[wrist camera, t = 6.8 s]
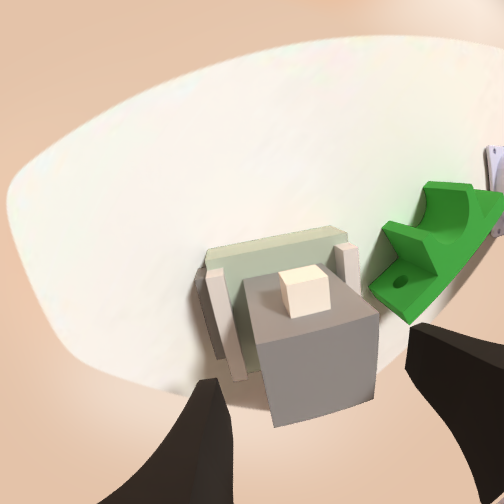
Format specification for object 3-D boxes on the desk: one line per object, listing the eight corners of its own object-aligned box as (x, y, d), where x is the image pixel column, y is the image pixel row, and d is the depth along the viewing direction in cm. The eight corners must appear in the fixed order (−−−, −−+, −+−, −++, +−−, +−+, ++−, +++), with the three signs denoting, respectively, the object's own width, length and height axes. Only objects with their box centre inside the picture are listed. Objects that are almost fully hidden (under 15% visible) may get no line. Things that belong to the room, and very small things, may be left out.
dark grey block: (318, 239, 14) (379, 277, 8) (327, 330, 15) (373, 398, 9) (238, 255, 13) (248, 308, 8) (256, 346, 15) (274, 427, 9)
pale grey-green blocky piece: (329, 225, 16) (357, 237, 12) (338, 328, 18) (360, 357, 14) (194, 251, 16) (185, 271, 12) (220, 354, 17) (220, 390, 14)
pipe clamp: (446, 159, 16) (491, 158, 12) (465, 199, 17) (507, 205, 12) (346, 257, 17) (384, 281, 12) (373, 297, 18) (410, 326, 13)
